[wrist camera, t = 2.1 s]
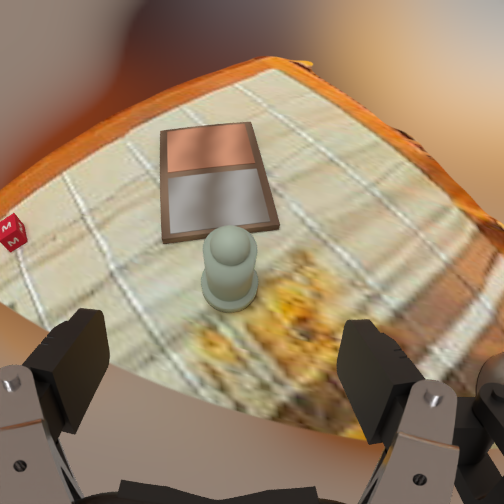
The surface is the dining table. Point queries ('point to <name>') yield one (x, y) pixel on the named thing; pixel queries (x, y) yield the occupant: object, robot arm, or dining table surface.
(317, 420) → the dining table surface
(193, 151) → the brown flat rectangular board
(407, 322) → the dining table surface
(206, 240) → the pawn
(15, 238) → the dice
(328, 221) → the dining table surface
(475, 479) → the robot arm
